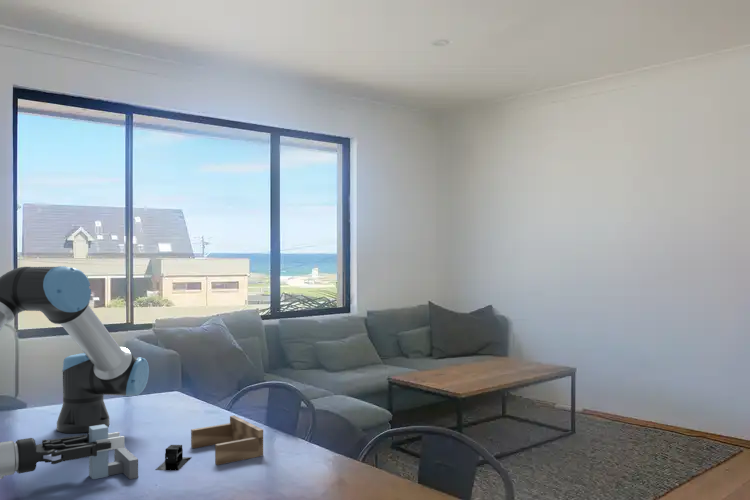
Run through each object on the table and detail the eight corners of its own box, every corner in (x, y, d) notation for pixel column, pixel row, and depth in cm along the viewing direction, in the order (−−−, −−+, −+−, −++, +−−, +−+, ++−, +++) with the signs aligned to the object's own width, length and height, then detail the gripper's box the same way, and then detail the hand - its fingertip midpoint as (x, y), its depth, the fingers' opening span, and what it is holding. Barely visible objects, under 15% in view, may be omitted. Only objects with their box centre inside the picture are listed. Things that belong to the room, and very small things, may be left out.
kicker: (84, 469, 164) (84, 422, 164) (122, 462, 170) (122, 416, 170) (97, 485, 153) (97, 434, 153) (138, 477, 159) (138, 428, 159)
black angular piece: (179, 475, 163) (179, 455, 162) (148, 474, 163) (148, 454, 163) (196, 457, 176) (196, 439, 176) (168, 457, 176) (167, 439, 176)
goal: (191, 447, 183) (191, 422, 183) (234, 439, 191) (234, 415, 191) (217, 465, 168) (217, 437, 168) (263, 455, 176) (263, 429, 176)
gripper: (10, 463, 156) (112, 446, 170) (21, 484, 143) (131, 463, 156) (10, 432, 156) (112, 417, 170) (21, 449, 143) (131, 431, 156)
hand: (121, 439), depth 163 cm, fingers closed on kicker, 4 cm apart
